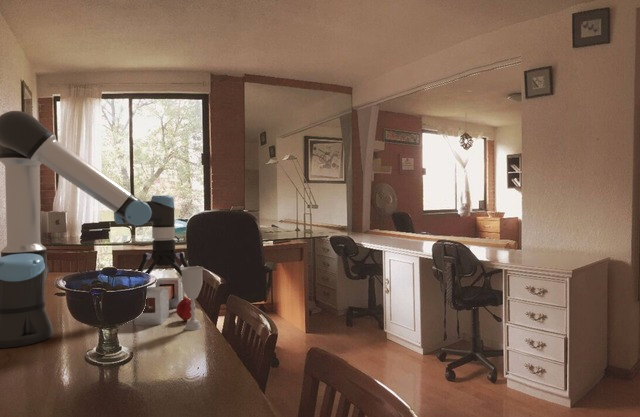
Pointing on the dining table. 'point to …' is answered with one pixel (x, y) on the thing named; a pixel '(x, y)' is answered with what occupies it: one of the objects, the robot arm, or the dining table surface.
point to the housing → (155, 307)
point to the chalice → (192, 291)
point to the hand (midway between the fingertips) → (164, 299)
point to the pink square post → (170, 290)
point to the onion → (184, 309)
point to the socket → (177, 290)
